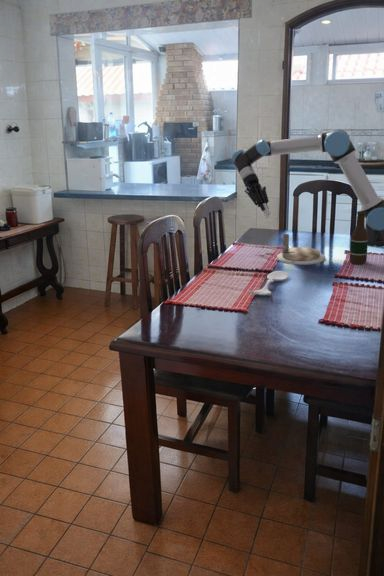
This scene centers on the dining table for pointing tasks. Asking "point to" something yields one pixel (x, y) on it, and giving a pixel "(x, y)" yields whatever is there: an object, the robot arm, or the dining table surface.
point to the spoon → (272, 277)
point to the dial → (298, 251)
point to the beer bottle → (359, 241)
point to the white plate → (301, 261)
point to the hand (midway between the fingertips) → (268, 215)
